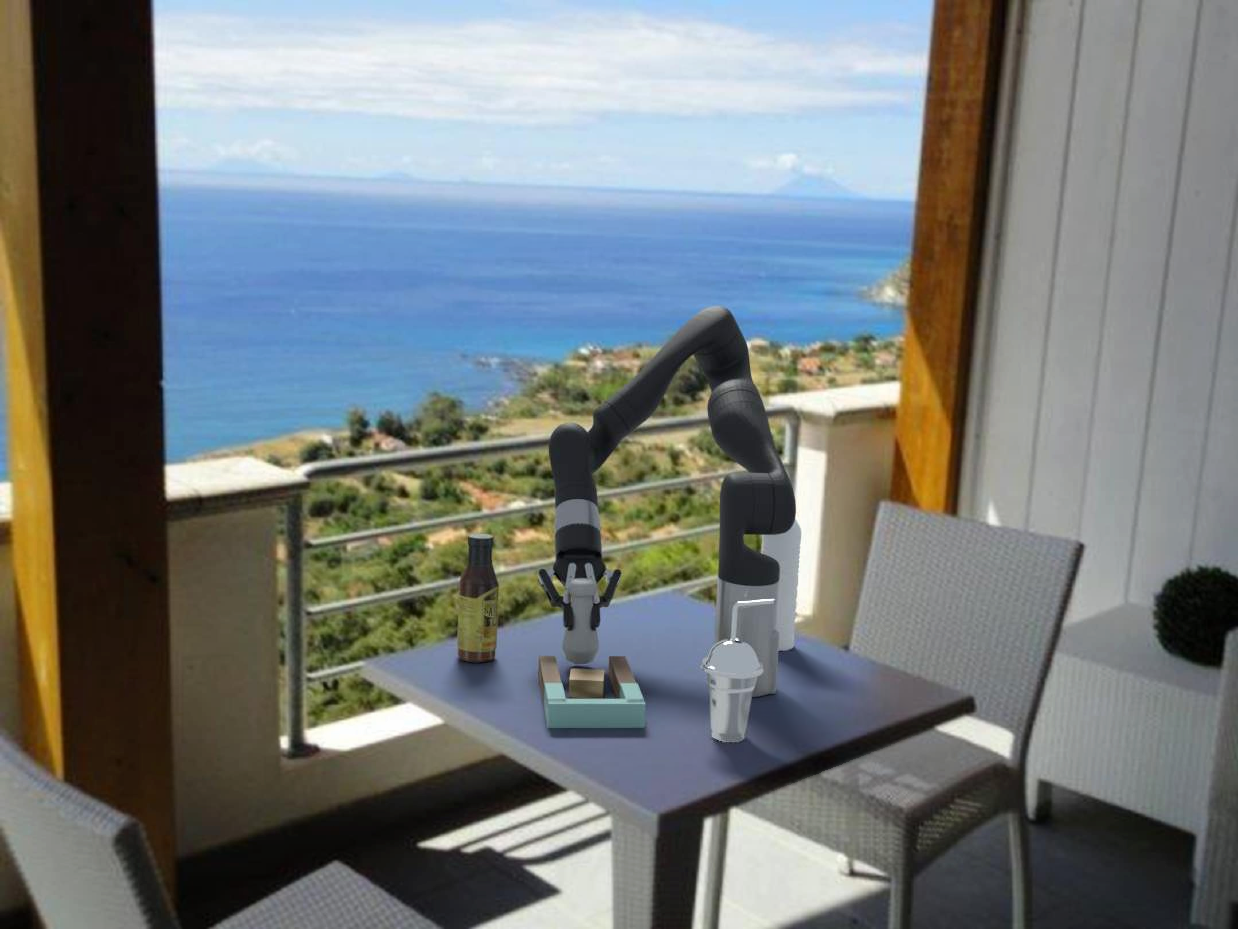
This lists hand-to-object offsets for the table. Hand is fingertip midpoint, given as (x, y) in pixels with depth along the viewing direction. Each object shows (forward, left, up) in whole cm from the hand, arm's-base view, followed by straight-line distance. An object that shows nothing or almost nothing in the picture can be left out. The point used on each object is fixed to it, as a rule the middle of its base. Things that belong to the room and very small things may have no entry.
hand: (581, 628), depth 202 cm
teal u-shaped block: (0, +19, -7) cm, 21 cm away
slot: (0, +8, -7) cm, 11 cm away
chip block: (0, +9, -7) cm, 12 cm away
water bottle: (-34, -13, -7) cm, 37 cm away
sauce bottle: (+16, -7, -7) cm, 19 cm away
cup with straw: (-18, +27, -7) cm, 34 cm away
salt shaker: (0, -2, -6) cm, 6 cm away
